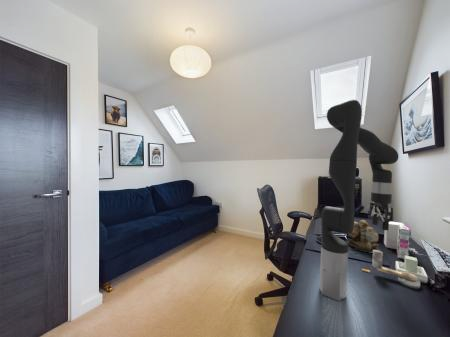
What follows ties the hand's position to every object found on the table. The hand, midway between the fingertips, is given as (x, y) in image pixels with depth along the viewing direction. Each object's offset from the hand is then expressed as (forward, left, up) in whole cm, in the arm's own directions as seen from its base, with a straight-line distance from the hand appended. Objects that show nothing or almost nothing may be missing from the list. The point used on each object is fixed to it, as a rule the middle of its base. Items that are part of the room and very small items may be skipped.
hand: (379, 227), depth 92 cm
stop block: (+9, -12, -21) cm, 26 cm away
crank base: (-1, -4, -22) cm, 22 cm away
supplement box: (+47, -9, -22) cm, 53 cm away
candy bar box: (+33, -12, -22) cm, 42 cm away
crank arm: (-1, -6, -19) cm, 20 cm away
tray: (+9, -12, -22) cm, 27 cm away
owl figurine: (+31, +7, -22) cm, 39 cm away
